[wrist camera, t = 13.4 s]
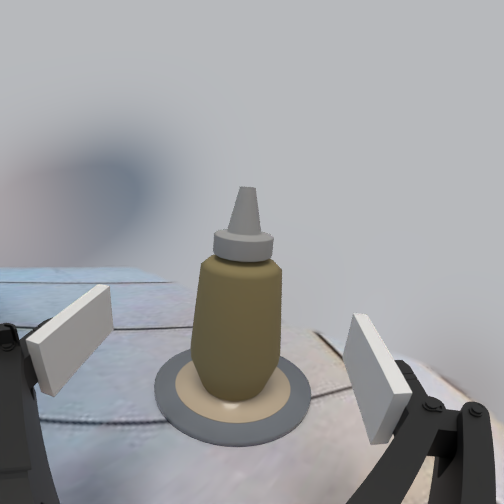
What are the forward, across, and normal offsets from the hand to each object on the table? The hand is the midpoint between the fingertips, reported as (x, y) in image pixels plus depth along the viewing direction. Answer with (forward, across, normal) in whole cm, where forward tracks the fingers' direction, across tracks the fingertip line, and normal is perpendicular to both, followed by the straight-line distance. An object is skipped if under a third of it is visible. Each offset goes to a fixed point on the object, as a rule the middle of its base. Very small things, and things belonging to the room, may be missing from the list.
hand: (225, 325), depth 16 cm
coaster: (+10, 0, -12) cm, 16 cm away
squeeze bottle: (+10, 0, -12) cm, 15 cm away
